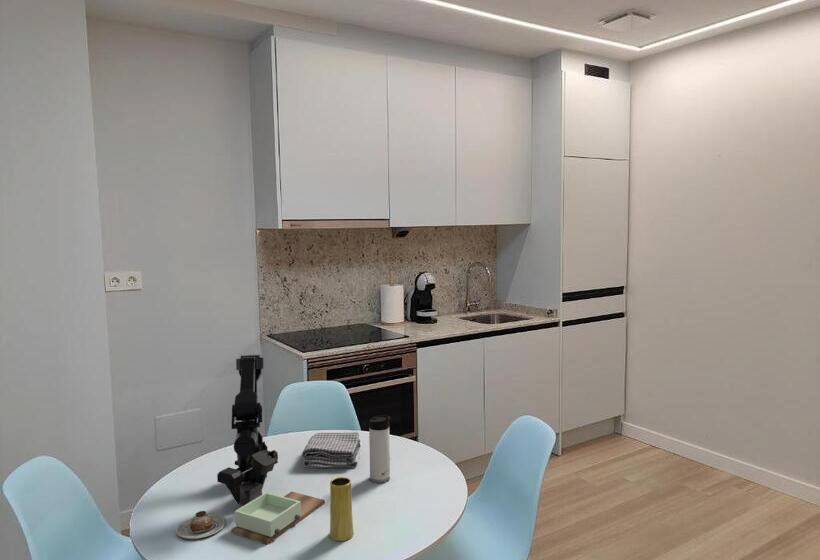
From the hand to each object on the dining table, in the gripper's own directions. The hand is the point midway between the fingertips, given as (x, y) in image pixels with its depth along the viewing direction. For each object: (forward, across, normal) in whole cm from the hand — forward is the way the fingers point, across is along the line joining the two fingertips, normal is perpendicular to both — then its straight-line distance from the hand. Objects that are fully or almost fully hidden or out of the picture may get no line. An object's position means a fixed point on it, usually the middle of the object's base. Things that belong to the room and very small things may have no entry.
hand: (249, 495), depth 166 cm
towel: (+2, +36, -4) cm, 36 cm away
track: (+2, -3, -14) cm, 14 cm away
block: (+2, 0, 0) cm, 2 cm away
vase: (+2, -3, -34) cm, 34 cm away
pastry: (+3, -17, +1) cm, 17 cm away
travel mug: (+2, +30, -26) cm, 40 cm away
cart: (+1, -8, -14) cm, 16 cm away
